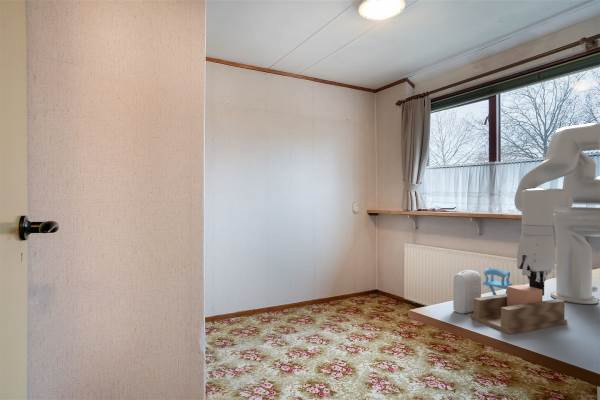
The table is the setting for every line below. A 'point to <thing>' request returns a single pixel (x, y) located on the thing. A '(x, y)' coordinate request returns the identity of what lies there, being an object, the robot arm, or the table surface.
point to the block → (522, 295)
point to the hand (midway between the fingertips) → (536, 294)
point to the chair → (493, 282)
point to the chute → (517, 314)
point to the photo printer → (466, 290)
